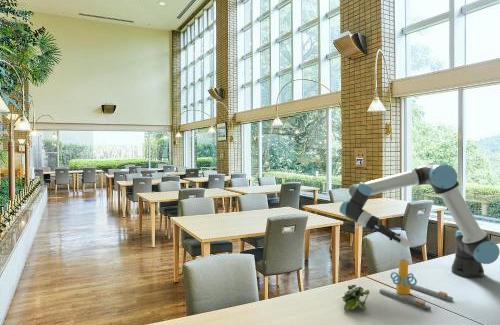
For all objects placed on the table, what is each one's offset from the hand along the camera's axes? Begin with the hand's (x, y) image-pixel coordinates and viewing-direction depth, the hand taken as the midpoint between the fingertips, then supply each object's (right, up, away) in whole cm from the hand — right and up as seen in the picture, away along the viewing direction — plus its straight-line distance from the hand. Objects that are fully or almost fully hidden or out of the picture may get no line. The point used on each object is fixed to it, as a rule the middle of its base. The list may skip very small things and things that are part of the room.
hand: (409, 245), depth 174 cm
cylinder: (-3, -22, 0) cm, 23 cm away
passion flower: (-30, -23, -16) cm, 41 cm away
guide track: (+1, -22, -6) cm, 23 cm away
